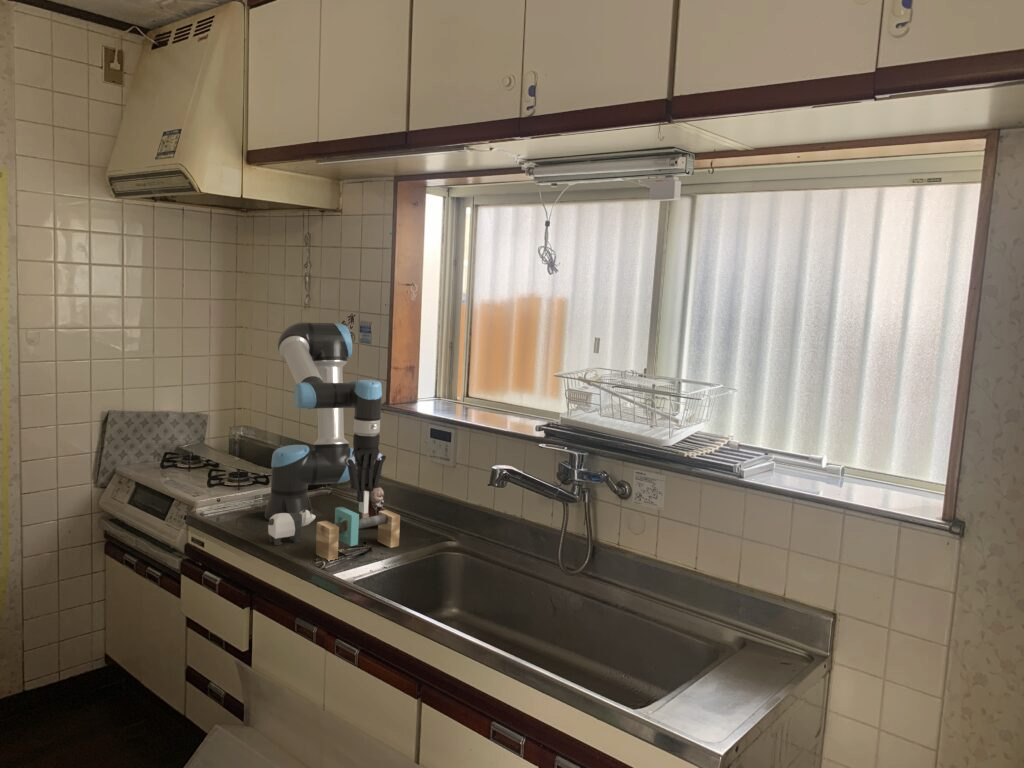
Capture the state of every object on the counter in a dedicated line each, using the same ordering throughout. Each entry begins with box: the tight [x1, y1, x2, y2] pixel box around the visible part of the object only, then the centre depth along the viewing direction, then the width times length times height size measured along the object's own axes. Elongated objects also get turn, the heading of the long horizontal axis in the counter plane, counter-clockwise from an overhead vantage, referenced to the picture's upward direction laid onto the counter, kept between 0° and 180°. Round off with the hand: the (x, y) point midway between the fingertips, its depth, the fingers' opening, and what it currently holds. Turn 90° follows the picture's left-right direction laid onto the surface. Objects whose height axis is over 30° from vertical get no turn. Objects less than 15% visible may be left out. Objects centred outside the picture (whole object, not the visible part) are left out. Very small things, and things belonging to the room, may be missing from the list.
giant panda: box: [267, 508, 317, 546], centre depth 233 cm, size 15×6×10 cm, turn 130°
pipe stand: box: [315, 509, 401, 562], centre depth 228 cm, size 24×7×10 cm, turn 133°
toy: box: [361, 487, 388, 529], centre depth 251 cm, size 9×8×15 cm
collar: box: [334, 506, 360, 547], centre depth 225 cm, size 2×9×9 cm, turn 43°
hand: (363, 512), depth 228 cm, fingers closed
